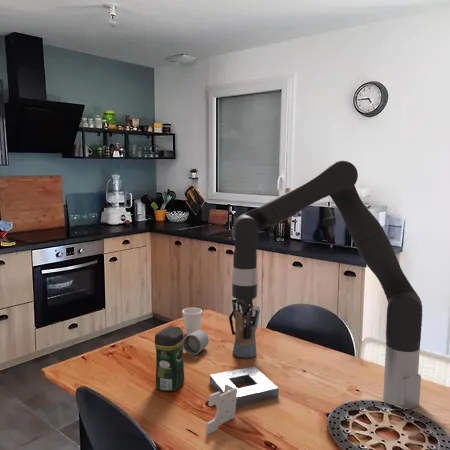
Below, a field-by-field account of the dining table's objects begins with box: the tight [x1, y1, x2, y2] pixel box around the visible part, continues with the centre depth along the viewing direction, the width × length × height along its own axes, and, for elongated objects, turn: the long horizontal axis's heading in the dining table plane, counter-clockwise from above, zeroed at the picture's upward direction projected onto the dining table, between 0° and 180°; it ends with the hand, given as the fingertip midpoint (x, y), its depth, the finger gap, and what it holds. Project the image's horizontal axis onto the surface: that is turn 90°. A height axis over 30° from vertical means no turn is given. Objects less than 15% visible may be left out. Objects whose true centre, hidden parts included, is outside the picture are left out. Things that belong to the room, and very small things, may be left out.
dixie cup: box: [181, 307, 203, 336], centre depth 185 cm, size 8×8×10 cm
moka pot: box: [228, 305, 261, 359], centre depth 164 cm, size 10×15×20 cm, turn 137°
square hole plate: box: [209, 366, 280, 408], centre depth 138 cm, size 16×16×3 cm
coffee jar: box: [154, 325, 185, 392], centre depth 140 cm, size 10×8×19 cm
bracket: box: [205, 384, 237, 435], centre depth 121 cm, size 11×4×10 cm, turn 141°
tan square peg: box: [234, 310, 253, 346], centre depth 136 cm, size 4×4×10 cm
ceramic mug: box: [183, 330, 210, 356], centre depth 168 cm, size 11×8×8 cm
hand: (243, 335), depth 136 cm, fingers closed on tan square peg, 4 cm apart
